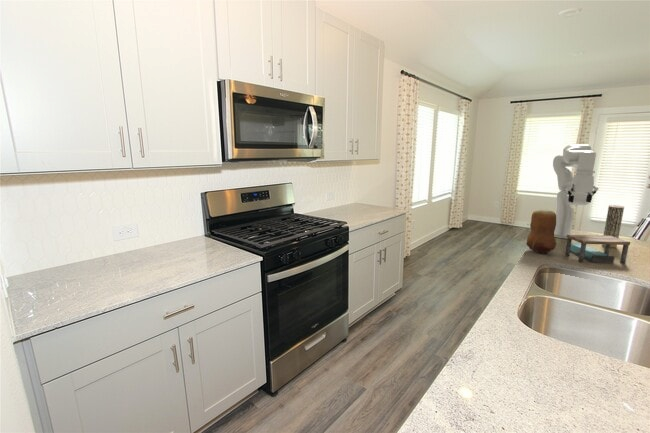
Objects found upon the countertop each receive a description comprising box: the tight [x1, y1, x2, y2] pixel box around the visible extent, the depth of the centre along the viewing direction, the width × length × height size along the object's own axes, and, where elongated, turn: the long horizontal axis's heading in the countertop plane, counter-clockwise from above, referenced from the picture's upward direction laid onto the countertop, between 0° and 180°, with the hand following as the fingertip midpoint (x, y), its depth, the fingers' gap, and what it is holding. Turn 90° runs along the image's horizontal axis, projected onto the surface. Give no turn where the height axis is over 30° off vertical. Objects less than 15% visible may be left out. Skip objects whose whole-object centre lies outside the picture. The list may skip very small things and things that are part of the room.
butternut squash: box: [526, 208, 557, 255], centre depth 176 cm, size 14×13×25 cm
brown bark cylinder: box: [601, 204, 625, 249], centre depth 187 cm, size 7×7×25 cm
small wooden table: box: [564, 234, 631, 265], centre depth 166 cm, size 13×22×12 cm, turn 84°
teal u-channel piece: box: [570, 242, 607, 258], centre depth 173 cm, size 22×6×4 cm, turn 174°
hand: (579, 202), depth 184 cm, fingers open, 9 cm apart
